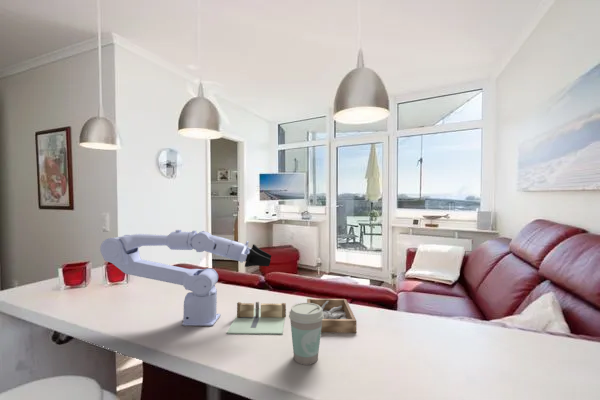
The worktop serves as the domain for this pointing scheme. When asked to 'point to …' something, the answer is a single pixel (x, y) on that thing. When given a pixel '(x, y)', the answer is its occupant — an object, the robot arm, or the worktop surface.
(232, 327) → the mat
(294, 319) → the coffee cup
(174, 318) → the worktop surface
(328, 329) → the box
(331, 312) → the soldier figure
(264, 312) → the rail
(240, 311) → the fixed rail
